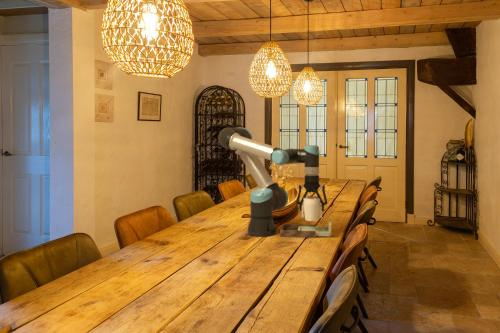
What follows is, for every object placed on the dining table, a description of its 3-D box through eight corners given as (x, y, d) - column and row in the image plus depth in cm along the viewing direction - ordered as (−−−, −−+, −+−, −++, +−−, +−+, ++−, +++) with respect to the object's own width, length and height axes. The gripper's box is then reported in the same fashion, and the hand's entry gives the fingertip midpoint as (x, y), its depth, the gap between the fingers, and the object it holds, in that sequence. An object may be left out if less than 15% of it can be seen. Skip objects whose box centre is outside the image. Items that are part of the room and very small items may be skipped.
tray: (297, 235, 232) (297, 223, 231) (298, 229, 245) (298, 218, 244) (331, 236, 229) (331, 224, 229) (330, 230, 242) (330, 219, 242)
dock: (280, 236, 232) (280, 230, 232) (282, 229, 248) (282, 223, 247) (315, 237, 229) (315, 231, 229) (315, 230, 245) (315, 224, 245)
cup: (319, 222, 231) (320, 199, 230) (302, 221, 233) (302, 198, 232) (320, 218, 240) (320, 196, 239) (303, 218, 242) (303, 196, 241)
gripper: (290, 175, 233) (290, 218, 234) (333, 175, 229) (332, 219, 231) (291, 173, 240) (291, 215, 242) (332, 174, 237) (332, 216, 239)
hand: (311, 217), depth 237 cm, fingers closed on cup, 9 cm apart
